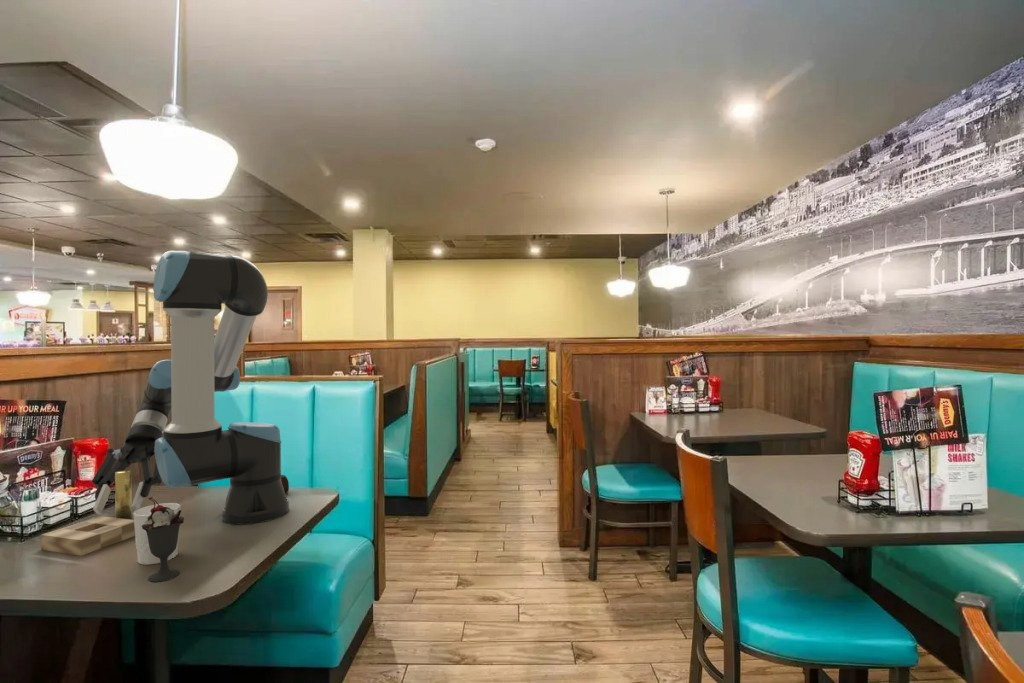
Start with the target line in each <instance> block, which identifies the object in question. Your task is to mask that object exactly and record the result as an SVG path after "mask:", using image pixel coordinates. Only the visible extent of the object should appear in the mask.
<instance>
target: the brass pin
mask: <svg viewBox="0 0 1024 683" xmlns="http://www.w3.org/2000/svg"><path fill="white" fill-rule="evenodd" d="M114 487H115V488H114V491H115V492H114V493H115V494H114V497H115V499H114V500H115V501H114V502H115V506H114V508H115V517H116V518H120V519H129V520H132V514H133V510H132V509H133V508H132V507H131V505H132V502H133V500H132V497H133V496H132V493H133V492H132V470H131V469H125V470H122V471H117V472H115V481H114Z"/></svg>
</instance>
